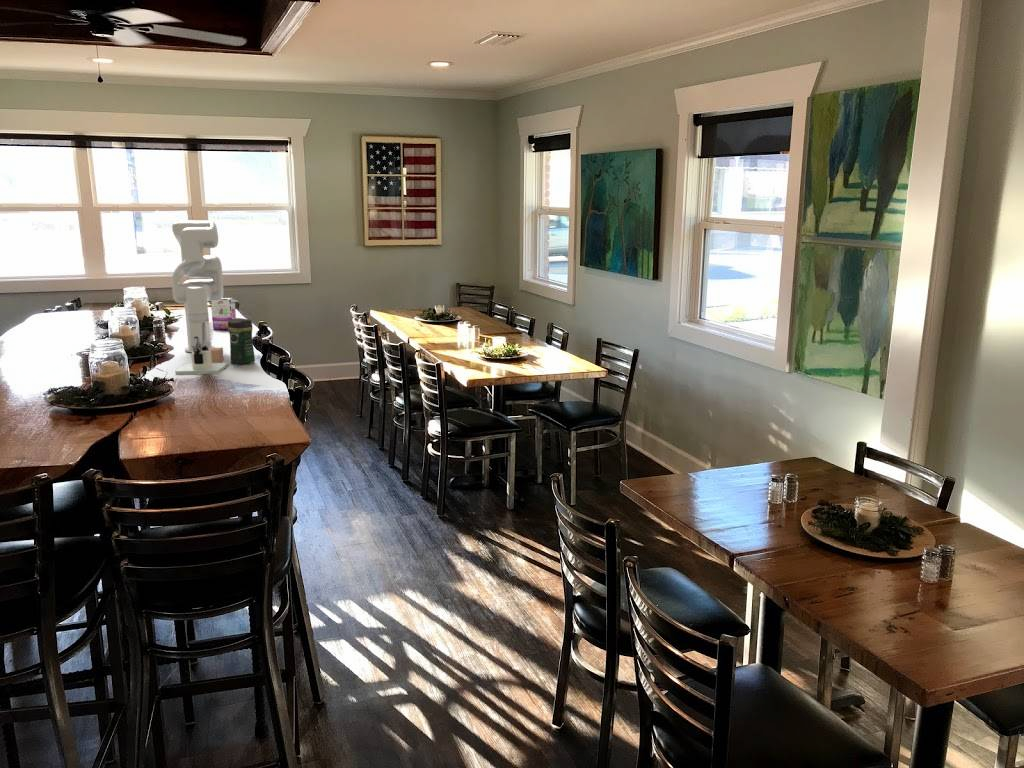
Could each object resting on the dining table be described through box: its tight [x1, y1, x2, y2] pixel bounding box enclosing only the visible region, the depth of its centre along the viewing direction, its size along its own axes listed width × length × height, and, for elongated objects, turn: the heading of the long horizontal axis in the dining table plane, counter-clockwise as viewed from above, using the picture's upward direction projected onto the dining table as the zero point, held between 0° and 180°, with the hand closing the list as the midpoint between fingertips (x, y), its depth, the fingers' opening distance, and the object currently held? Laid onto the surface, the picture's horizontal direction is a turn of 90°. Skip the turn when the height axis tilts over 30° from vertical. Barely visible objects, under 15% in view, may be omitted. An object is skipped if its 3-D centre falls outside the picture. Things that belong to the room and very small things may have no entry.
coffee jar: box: [227, 317, 256, 365], centre depth 333 cm, size 10×8×19 cm
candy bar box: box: [210, 297, 237, 330], centre depth 419 cm, size 11×5×16 cm, turn 81°
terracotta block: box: [208, 347, 225, 363], centre depth 334 cm, size 6×6×6 cm
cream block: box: [190, 351, 212, 368], centre depth 320 cm, size 6×6×6 cm
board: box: [175, 362, 229, 375], centre depth 320 cm, size 16×16×1 cm
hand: (202, 361), depth 320 cm, fingers open, 8 cm apart
